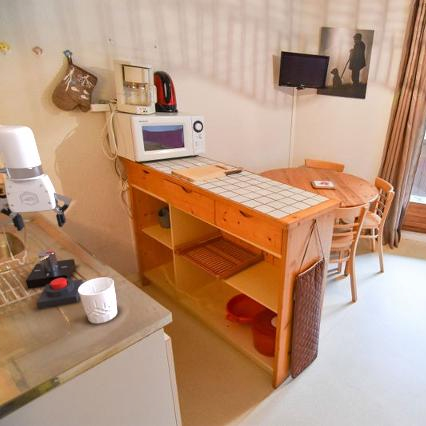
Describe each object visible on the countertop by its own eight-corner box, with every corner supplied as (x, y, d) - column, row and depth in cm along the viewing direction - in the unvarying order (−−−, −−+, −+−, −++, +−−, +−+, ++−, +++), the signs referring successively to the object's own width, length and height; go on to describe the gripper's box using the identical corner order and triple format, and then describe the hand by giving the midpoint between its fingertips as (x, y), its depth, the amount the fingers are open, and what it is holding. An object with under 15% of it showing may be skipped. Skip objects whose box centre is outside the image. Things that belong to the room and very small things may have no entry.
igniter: (38, 308, 89) (34, 297, 87) (48, 290, 96) (44, 279, 94) (77, 302, 92) (74, 291, 91) (84, 284, 100) (81, 274, 98)
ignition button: (50, 290, 91) (48, 285, 90) (53, 283, 94) (52, 278, 93) (65, 288, 92) (64, 283, 91) (68, 281, 95) (67, 276, 94)
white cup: (102, 328, 84) (94, 297, 80) (78, 321, 86) (70, 290, 82) (126, 309, 91) (120, 280, 87) (104, 303, 93) (97, 274, 89)
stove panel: (27, 288, 96) (24, 280, 95) (38, 271, 104) (36, 263, 103) (68, 282, 100) (66, 274, 99) (75, 266, 108) (73, 258, 107)
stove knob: (41, 273, 98) (35, 255, 96) (45, 266, 102) (39, 249, 99) (56, 271, 100) (51, 253, 98) (60, 264, 103) (55, 247, 101)
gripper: (-23, 177, 82) (-2, 236, 88) (60, 174, 89) (74, 228, 95) (-10, 169, 88) (9, 225, 94) (67, 167, 95) (79, 219, 101)
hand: (42, 226), depth 95 cm, fingers open, 9 cm apart
